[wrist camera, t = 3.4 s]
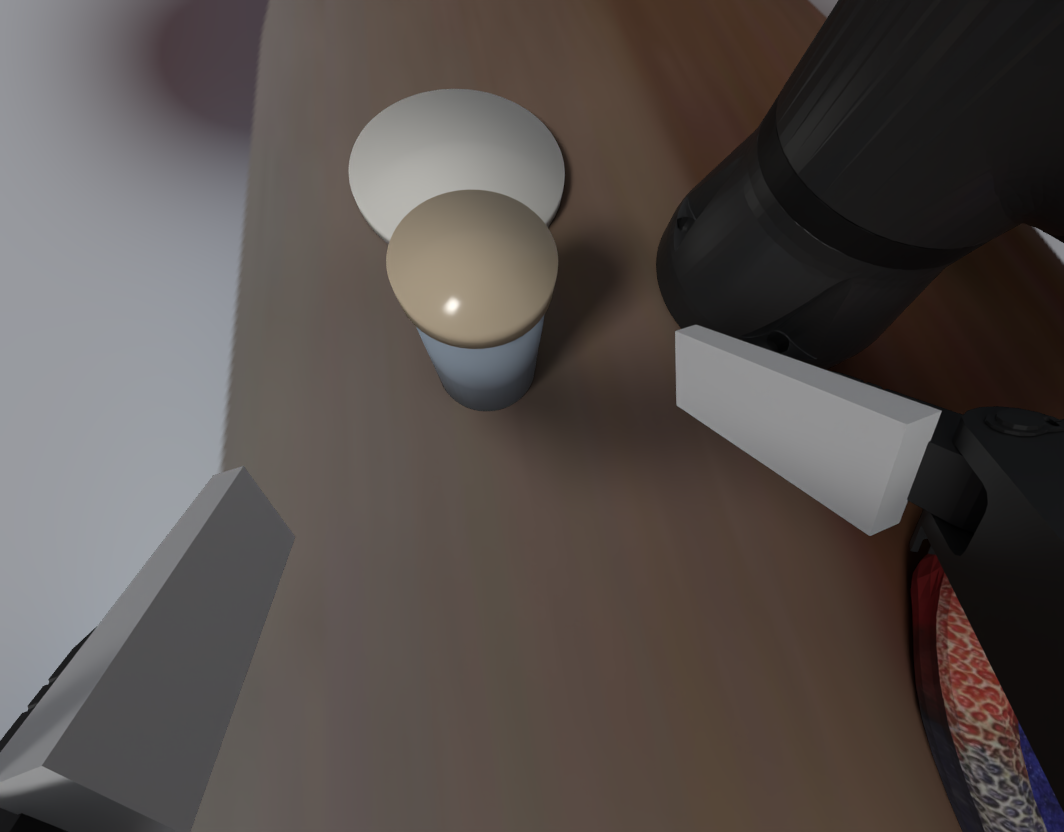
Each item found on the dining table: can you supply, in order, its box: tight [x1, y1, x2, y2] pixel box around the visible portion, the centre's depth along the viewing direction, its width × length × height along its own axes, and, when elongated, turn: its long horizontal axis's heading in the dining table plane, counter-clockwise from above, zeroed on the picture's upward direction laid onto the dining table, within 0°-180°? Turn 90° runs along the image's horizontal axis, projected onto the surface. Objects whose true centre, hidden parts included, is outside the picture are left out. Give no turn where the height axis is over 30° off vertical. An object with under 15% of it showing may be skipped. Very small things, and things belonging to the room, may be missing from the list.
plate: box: [349, 89, 565, 244], centre depth 27 cm, size 15×15×1 cm
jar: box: [386, 190, 558, 411], centre depth 19 cm, size 6×6×10 cm
